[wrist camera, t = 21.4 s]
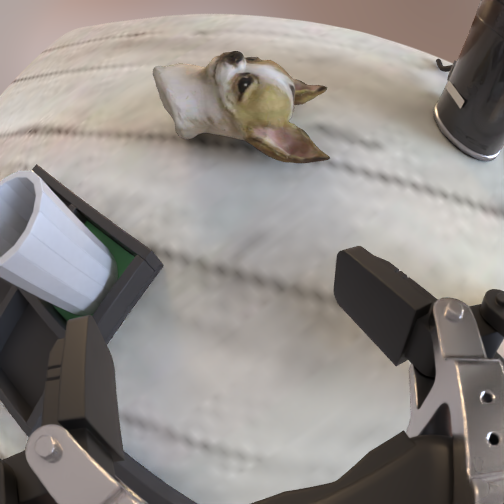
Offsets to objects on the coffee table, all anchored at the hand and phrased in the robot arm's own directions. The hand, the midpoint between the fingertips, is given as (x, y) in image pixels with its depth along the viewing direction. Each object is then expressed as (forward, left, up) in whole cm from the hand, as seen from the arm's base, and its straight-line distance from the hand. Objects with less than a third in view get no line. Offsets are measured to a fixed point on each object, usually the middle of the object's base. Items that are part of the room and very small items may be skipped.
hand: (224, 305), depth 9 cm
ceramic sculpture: (-16, -11, -12) cm, 22 cm away
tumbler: (+3, -12, -11) cm, 17 cm away
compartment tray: (+7, -17, -12) cm, 21 cm away
